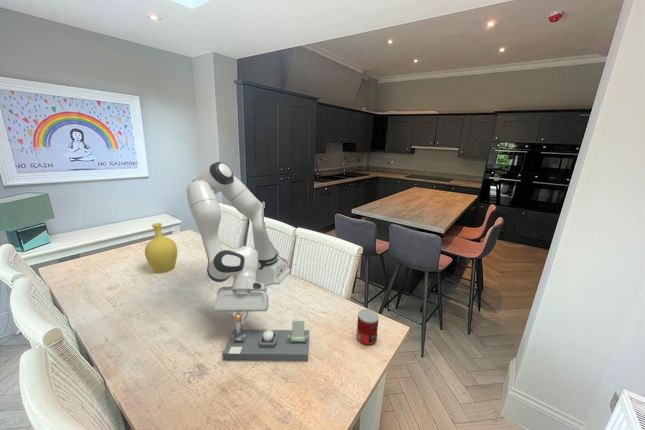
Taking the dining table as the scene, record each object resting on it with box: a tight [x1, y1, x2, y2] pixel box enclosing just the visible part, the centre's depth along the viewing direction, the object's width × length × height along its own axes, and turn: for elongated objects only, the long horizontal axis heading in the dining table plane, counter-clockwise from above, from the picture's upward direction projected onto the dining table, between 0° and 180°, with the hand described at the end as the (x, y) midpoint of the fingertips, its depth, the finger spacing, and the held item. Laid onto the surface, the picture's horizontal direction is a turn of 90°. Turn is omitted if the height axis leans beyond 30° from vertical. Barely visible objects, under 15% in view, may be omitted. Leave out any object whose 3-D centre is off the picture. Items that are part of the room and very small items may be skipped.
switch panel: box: [222, 328, 310, 362], centre depth 98 cm, size 12×30×5 cm, turn 90°
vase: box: [144, 222, 178, 274], centre depth 151 cm, size 16×16×28 cm
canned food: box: [356, 308, 379, 346], centre depth 102 cm, size 8×8×11 cm
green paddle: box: [291, 320, 305, 342], centre depth 97 cm, size 2×5×8 cm, turn 89°
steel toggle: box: [233, 313, 243, 341], centre depth 96 cm, size 3×3×11 cm
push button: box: [263, 329, 273, 342], centre depth 97 cm, size 4×4×2 cm
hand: (239, 324), depth 97 cm, fingers closed, pressing on steel toggle
